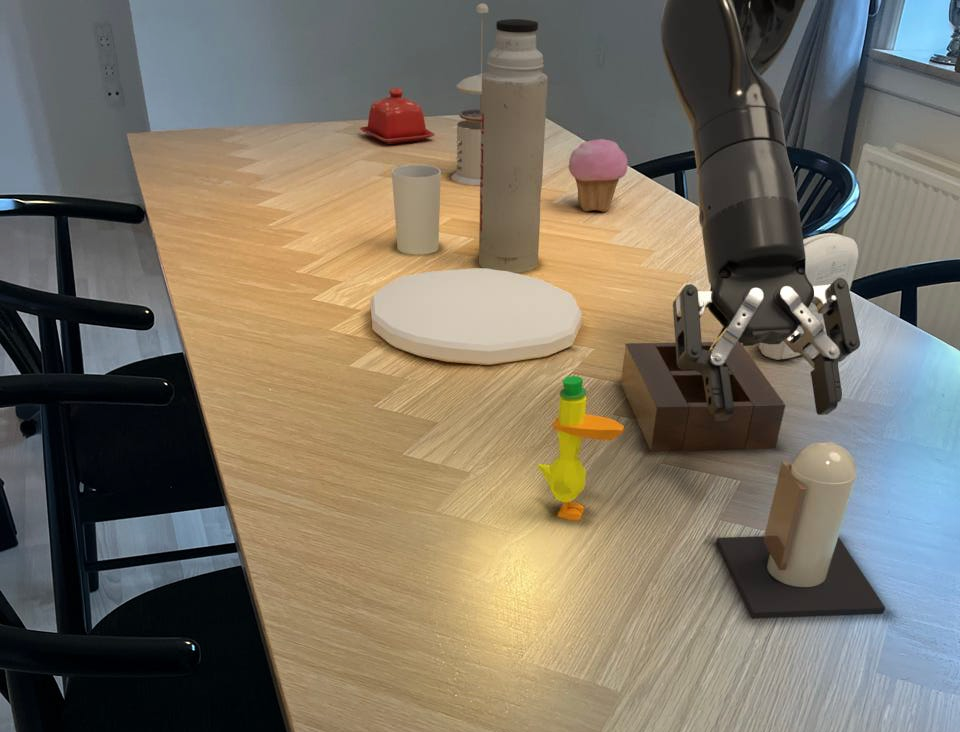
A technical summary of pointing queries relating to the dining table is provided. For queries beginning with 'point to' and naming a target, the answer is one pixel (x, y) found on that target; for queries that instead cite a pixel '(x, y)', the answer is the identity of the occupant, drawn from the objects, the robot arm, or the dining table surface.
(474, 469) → the dining table surface
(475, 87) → the french press
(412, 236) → the drinking glass
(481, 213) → the thermos bottle
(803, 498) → the dome-topped cream cylinder
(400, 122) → the butter dish
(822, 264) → the photo printer
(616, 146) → the cupcake
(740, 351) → the box
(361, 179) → the dining table surface
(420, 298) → the decorative plate
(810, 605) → the mat
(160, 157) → the dining table surface
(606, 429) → the toy figure
